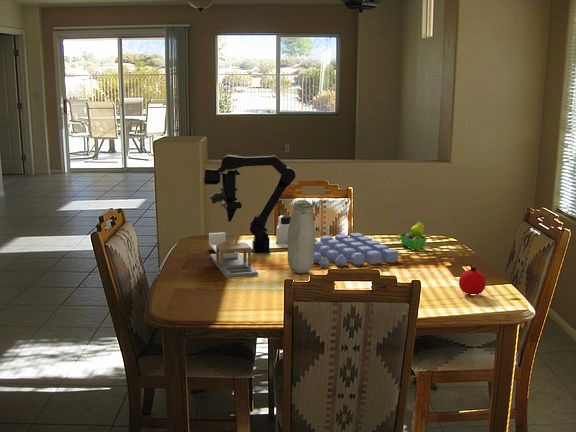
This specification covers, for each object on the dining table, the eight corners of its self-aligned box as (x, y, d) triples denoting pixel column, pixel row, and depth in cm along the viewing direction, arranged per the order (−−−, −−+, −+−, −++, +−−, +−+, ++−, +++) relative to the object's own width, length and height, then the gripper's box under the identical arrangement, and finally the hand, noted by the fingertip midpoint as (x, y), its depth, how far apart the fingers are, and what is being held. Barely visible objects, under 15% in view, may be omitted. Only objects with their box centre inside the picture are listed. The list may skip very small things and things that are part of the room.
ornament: (464, 289, 236) (466, 262, 234) (489, 294, 230) (491, 266, 228) (453, 295, 229) (455, 267, 227) (478, 301, 223) (480, 272, 221)
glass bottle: (311, 277, 248) (313, 203, 242) (285, 275, 250) (285, 202, 244) (315, 269, 258) (317, 198, 252) (290, 267, 260) (291, 197, 254)
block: (231, 251, 272) (231, 241, 272) (234, 254, 268) (234, 244, 267) (220, 252, 271) (219, 242, 270) (222, 255, 266) (222, 245, 265)
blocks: (398, 263, 270) (398, 251, 269) (320, 270, 258) (321, 258, 257) (358, 243, 302) (359, 232, 301) (288, 249, 290) (288, 238, 289)
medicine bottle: (293, 240, 304) (293, 214, 302) (291, 243, 297) (292, 217, 295) (277, 239, 305) (278, 214, 303) (276, 243, 298) (276, 217, 296)
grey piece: (238, 255, 276) (238, 235, 275) (257, 275, 249) (257, 254, 247) (210, 257, 273) (210, 237, 271) (226, 278, 245) (226, 256, 243)
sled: (224, 243, 289) (224, 232, 288) (238, 257, 267) (238, 245, 266) (209, 244, 287) (209, 233, 286) (221, 258, 265) (220, 246, 264)
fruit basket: (398, 245, 297) (399, 220, 295) (414, 243, 301) (415, 219, 298) (413, 251, 287) (414, 226, 285) (429, 249, 291) (431, 224, 288)
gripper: (205, 182, 284) (206, 218, 287) (214, 189, 266) (215, 227, 270) (231, 181, 287) (231, 216, 290) (241, 188, 270) (241, 225, 273)
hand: (229, 221), depth 281 cm, fingers closed
